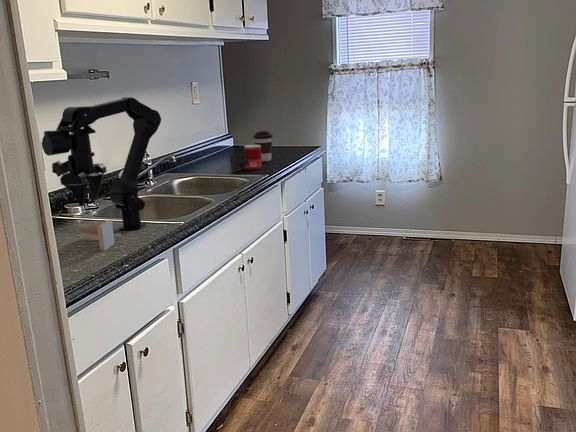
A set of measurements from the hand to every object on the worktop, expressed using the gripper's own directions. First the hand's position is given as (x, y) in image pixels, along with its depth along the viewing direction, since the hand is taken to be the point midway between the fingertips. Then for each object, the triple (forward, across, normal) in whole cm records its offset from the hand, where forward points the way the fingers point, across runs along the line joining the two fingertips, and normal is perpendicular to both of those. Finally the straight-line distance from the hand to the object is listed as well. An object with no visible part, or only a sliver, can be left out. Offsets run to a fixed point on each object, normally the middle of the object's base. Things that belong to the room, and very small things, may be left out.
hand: (88, 202), depth 175 cm
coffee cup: (+12, -136, +34) cm, 140 cm away
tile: (+12, +8, +8) cm, 16 cm away
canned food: (+12, -114, +32) cm, 119 cm away
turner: (+12, 0, +2) cm, 12 cm away
